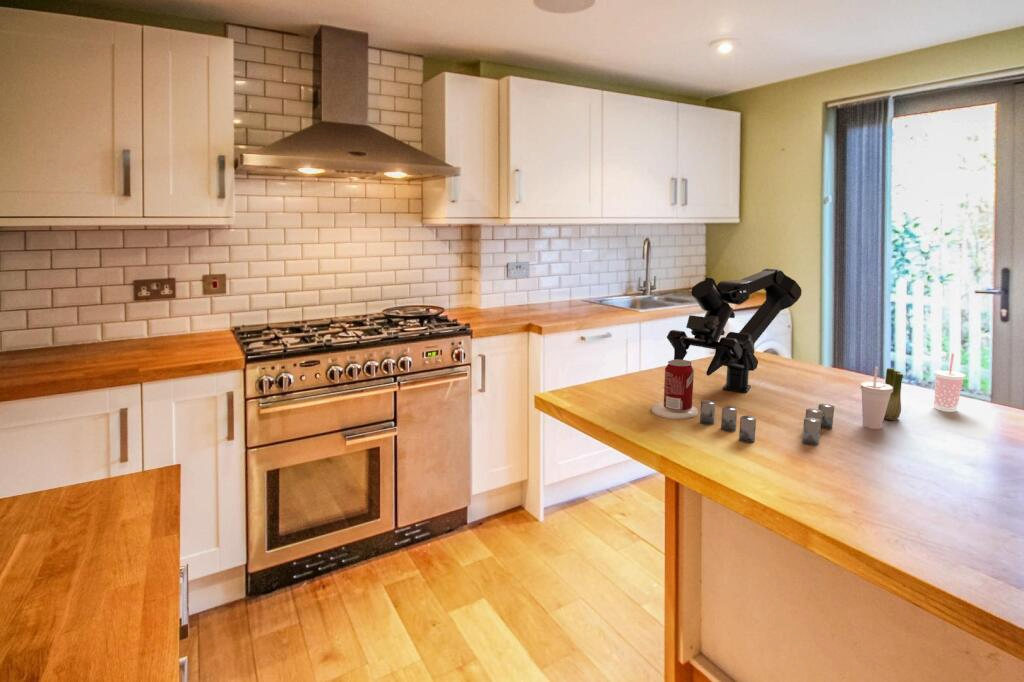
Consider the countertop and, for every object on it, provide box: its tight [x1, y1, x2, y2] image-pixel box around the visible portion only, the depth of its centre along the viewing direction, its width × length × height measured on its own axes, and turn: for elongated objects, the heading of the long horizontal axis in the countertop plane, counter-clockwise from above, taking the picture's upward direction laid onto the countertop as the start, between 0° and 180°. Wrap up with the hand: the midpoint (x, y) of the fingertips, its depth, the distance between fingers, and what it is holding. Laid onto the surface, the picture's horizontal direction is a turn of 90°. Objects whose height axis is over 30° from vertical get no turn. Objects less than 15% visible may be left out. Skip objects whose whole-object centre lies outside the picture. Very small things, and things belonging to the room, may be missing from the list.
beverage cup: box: [933, 352, 966, 413], centre depth 149 cm, size 6×6×14 cm
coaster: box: [651, 401, 699, 420], centre depth 151 cm, size 11×11×1 cm
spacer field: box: [699, 399, 835, 446], centre depth 135 cm, size 14×29×5 cm, turn 82°
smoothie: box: [859, 366, 893, 430], centre depth 138 cm, size 6×6×14 cm
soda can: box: [663, 359, 695, 413], centre depth 149 cm, size 7×7×12 cm
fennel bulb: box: [884, 367, 903, 421], centre depth 143 cm, size 6×5×12 cm
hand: (690, 371), depth 153 cm, fingers open, 9 cm apart
